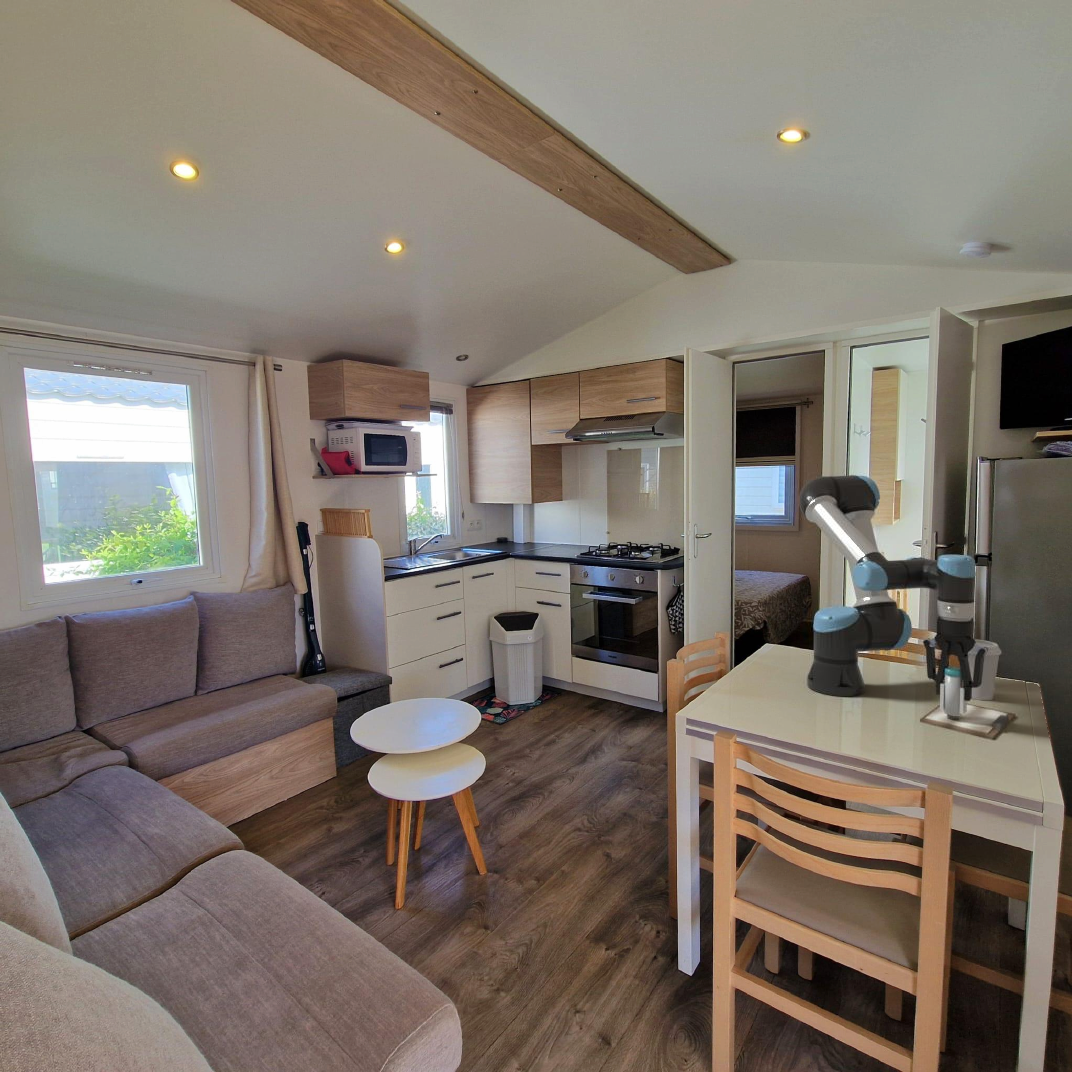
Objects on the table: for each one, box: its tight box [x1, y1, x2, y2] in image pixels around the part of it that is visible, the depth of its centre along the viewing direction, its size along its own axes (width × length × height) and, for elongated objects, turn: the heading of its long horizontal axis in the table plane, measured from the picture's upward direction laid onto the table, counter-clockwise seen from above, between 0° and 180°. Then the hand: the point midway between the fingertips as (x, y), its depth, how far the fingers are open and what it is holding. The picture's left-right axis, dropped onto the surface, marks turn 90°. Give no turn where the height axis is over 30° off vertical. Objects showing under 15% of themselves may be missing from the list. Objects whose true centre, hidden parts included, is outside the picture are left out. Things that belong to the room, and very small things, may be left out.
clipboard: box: [919, 703, 1017, 741], centre depth 154 cm, size 15×20×2 cm
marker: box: [944, 666, 963, 720], centre depth 152 cm, size 4×4×13 cm
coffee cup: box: [968, 639, 1002, 701], centre depth 168 cm, size 10×10×15 cm
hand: (953, 710), depth 153 cm, fingers closed on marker, 3 cm apart
